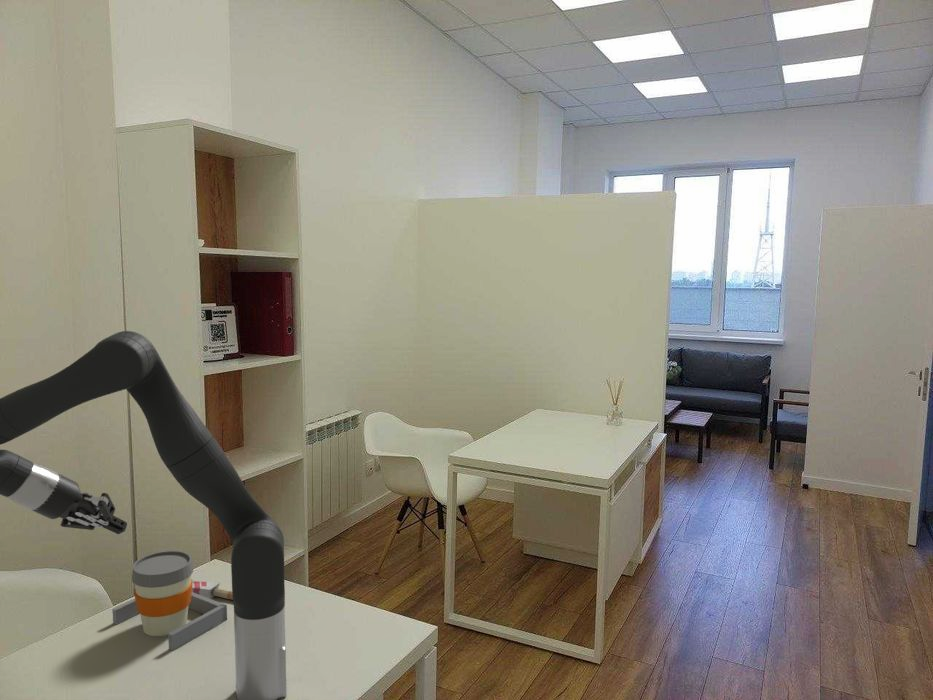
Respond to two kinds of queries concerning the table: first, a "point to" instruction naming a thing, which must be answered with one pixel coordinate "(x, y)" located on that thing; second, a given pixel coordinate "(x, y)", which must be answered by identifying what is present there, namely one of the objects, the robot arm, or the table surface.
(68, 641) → the table surface
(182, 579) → the reusable coffee cup
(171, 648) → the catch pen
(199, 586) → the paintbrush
